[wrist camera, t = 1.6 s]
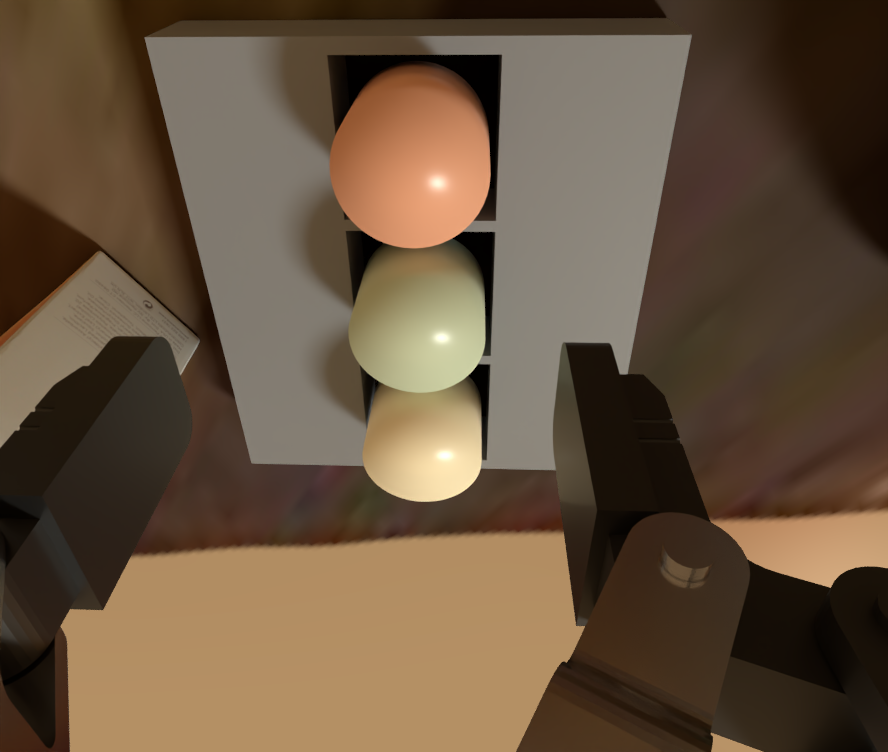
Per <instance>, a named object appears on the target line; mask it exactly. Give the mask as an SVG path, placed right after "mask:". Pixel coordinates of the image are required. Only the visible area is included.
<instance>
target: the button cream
mask: <svg viewBox="0 0 888 752" xmlns="http://www.w3.org/2000/svg"><path fill="white" fill-rule="evenodd" d="M362 456H363V464H364V467H365V469H366V471H367V473H368V475H369V476H370V478H371V479H372V480H373V481H374V482H375V483H376V484H377V485H378V486H379V487H381V488H382V489H383V490H385V491H387V492H388V493H390V494H393V495H395V496H397V497H400V498H403V499H407V500H413V501H422V502H428V501H439V500H443V499H447V498H450V497H453V496H455V495H457V494H459V493H461V492H463V491H464V490H466V489H467V488H468V487H469V486H470V485H471V484H472V483H473V482H474V481H475V479H476V478H477V476H478V474H479V472H480V469H481V462H482V444H481V397H480V393H479V390H478V388H477V386H476V384H475V383H474V381H473V380H472V379H471V378H470V377H469V376H467V377H466V378H465V379H463V380H462V381H460V382H459V383H457V384H455V385H453V386H451V387H449V388H446V389H443V390H439V391H435V392H427V393H415V392H406V391H401V390H398V389H394V388H392V387H389V386H387V385H385V384H383V383H381V382H379V383H378V385H377V387H376V390H375V393H374V398H373V403H372V408H371V413H370V417H369V422H368V427H367V432H366V437H365V442H364V447H363V453H362Z"/></svg>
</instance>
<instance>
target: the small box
mask: <svg viewBox="0 0 888 752" xmlns="http://www.w3.org/2000/svg"><path fill="white" fill-rule="evenodd" d="M116 336H152V337H164V338H165V339H166V340H167V341H168V342H169V344H170V346H171V348H172V351H173V354H174V357H175V360H176V364H177V367H178V370H179V373H180V375H181V373H182V372H183V370H184V368H185V366H186V364H187V363H188V361H189V360H190V358H191V356H192V355H193V353H194V351H195V350H196V348H197V346H198V344H199V342H200V339H199V338H198V337H197V336H196V335H195V334H194V333H193V332H191V331H190V330H189V329H188V328H187V327H186V326H185V325H184V324H182V323H181V322H180V321H179V320H178V319H177V318H176V317H175V316H174V315H172V314H171V313H170V312H169V311H168V310H167V309H166V308H165V307H164V306H163V305H161V304H160V303H159V302H158V301H157V300H156V299H155V298H153V297H152V296H151V295H150V294H149V293H148V292H147V291H146V290H145V289H143V288H142V287H141V286H140V285H139V284H138V283H137V282H136V281H135V280H133V279H132V278H131V277H130V276H129V275H128V274H127V273H126V272H124V271H123V270H122V269H121V268H120V267H119V266H118V265H117V264H115V263H114V262H113V261H112V260H111V259H110V258H109V257H108V256H107V255H105V254H104V253H103V252H102V251H98V252H96V253H95V254H94V255H93V256H92V257H91V258H90V259H89V260H88V261H86V262H85V263H84V264H83V265H82V266H81V267H80V268H79V269H78V270H77V271H76V272H75V273H73V274H72V275H71V276H70V277H69V278H68V279H67V280H66V281H64V282H63V283H62V284H61V285H60V286H59V287H58V288H57V289H55V290H54V291H53V292H52V293H51V294H50V295H49V296H48V297H46V298H45V299H44V300H43V301H42V302H40V303H39V304H38V305H37V306H36V307H35V308H33V309H32V310H31V311H30V312H29V313H27V314H26V315H25V316H24V317H23V318H22V319H20V320H19V321H18V322H17V323H16V324H15V325H13V326H12V327H11V328H10V329H9V330H8V331H6V332H5V333H4V334H3V335H2V336H1V337H0V448H1V447H2V445H3V444H4V443H5V442H6V441H7V439H8V438H9V437H10V436H11V435H12V434H13V432H14V431H15V430H19V429H20V427H19V425H20V424H21V423H22V422H23V421H24V419H25V418H26V417H27V416H28V415H29V414H30V412H35V406H36V405H37V404H38V403H39V402H40V401H41V399H42V398H43V397H44V396H45V395H46V393H47V392H48V391H49V390H50V389H51V388H52V386H53V385H54V384H56V383H57V382H59V381H60V380H62V379H63V378H65V377H66V376H68V375H69V374H71V373H73V372H74V371H76V370H77V369H79V368H80V367H82V366H89V365H90V364H91V363H92V361H93V360H94V359H95V358H96V356H97V355H98V354H99V353H100V351H101V350H102V349H103V348H104V346H105V345H106V344H107V343H108V342H109V340H110V339H112V338H113V337H116Z"/></svg>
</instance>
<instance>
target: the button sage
mask: <svg viewBox="0 0 888 752" xmlns="http://www.w3.org/2000/svg"><path fill="white" fill-rule="evenodd" d="M348 333H349V342H350V346H351V349H352V352H353V354H354V356H355V358H356V360H357V361H358V363H359V364H360V365H361V367H362V368H363V369H364V370H365V371H366V372H367V373H368V374H369V375H371V376H372V377H373V378H375V379H376V380H378V381H379V382H381V383H383V384H385V385H387V386H389V387H392V388H394V389H398V390H401V391H406V392H415V393H427V392H435V391H439V390H443V389H446V388H449V387H451V386H453V385H455V384H457V383H459V382H460V381H462V380H463V379H465V378H466V377H467V376H468V375H469V374H470V373H471V372H472V371H473V370H474V369H475V368H476V366H477V364H478V363H479V361H480V359H481V357H482V355H483V351H484V347H485V285H484V277H483V273H482V270H481V267H480V265H479V263H478V262H477V260H476V259H475V257H474V256H473V254H472V253H471V252H470V251H469V250H468V249H467V248H466V247H465V246H463V245H462V244H461V243H459V242H458V241H456V240H454V239H450V240H448V241H446V242H444V243H441V244H438V245H435V246H431V247H425V248H402V247H397V246H392V245H389V244H386V243H383V244H382V245H381V246H380V247H378V248H377V249H376V251H375V252H374V253H373V254H372V256H371V257H370V259H369V261H368V263H367V265H366V268H365V271H364V274H363V278H362V281H361V285H360V288H359V291H358V295H357V298H356V302H355V305H354V308H353V312H352V315H351V319H350V322H349V329H348Z"/></svg>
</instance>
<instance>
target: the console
mask: <svg viewBox="0 0 888 752" xmlns="http://www.w3.org/2000/svg"><path fill="white" fill-rule="evenodd" d="M691 36H692V35H691V34H690V33H688V32H687V31H685V30H684V29H683V28H681V27H680V26H678V25H677V24H676V23H674V22H673V21H671V20H670V19H668V18H577V19H386V20H195V21H179V22H177V23H174V24H172V25H170V26H168V27H166V28H163V29H161V30H159V31H157V32H155V33H153V34H150V35H148V36H146V37H144V38H145V42H146V46H147V50H148V54H149V58H150V62H151V66H152V70H153V74H154V77H155V81H156V85H157V89H158V93H159V97H160V101H161V105H162V109H163V113H164V117H165V121H166V125H167V129H168V133H169V137H170V141H171V145H172V149H173V153H174V157H175V161H176V165H177V169H178V173H179V177H180V181H181V185H182V189H183V193H184V197H185V201H186V205H187V209H188V213H189V217H190V221H191V224H192V228H193V232H194V236H195V240H196V244H197V248H198V252H199V256H200V260H201V264H202V268H203V272H204V276H205V280H206V284H207V288H208V292H209V296H210V300H211V304H212V308H213V312H214V316H215V320H216V324H217V328H218V332H219V336H220V340H221V344H222V348H223V352H224V356H225V360H226V364H227V368H228V372H229V375H230V379H231V383H232V387H233V391H234V395H235V399H236V403H237V407H238V411H239V415H240V419H241V423H242V427H243V431H244V435H245V439H246V443H247V447H248V451H249V455H250V459H251V463H256V464H302V465H348V466H364V464H363V456H362V453H363V447H364V442H365V437H366V432H367V427H368V422H369V417H370V413H371V408H372V403H373V398H374V393H375V390H376V389H375V378H373V377H372V376H371V375H369V374H368V373H367V372H366V371H365V370H364V369H363V368H362V367H361V365H360V364H359V363H358V361H357V360H356V358H355V356H354V354H353V352H352V349H351V346H350V342H349V333H348V329H349V322H350V319H351V315H352V312H353V308H354V305H355V302H356V298H357V295H358V291H359V288H360V285H361V281H362V278H363V274H364V271H365V268H364V257H363V246H362V235H361V231H362V230H361V229H360V228H358V227H357V226H356V225H355V224H354V223H353V222H352V221H351V220H350V218H349V217H348V216H347V215H346V213H345V212H344V210H343V209H342V207H341V206H340V204H339V202H338V200H337V198H336V195H335V193H334V190H333V187H332V183H331V177H330V165H329V163H330V152H331V148H332V144H333V141H334V138H335V135H336V133H337V131H338V129H339V127H340V126H341V124H342V122H343V120H344V118H345V117H346V115H347V113H348V111H349V110H350V103H349V92H348V81H347V70H346V59H345V55H499V67H498V96H497V124H496V153H495V181H494V189H489V190H488V194H487V197H486V200H485V202H484V205H483V207H482V208H481V210H480V212H479V214H478V215H477V216H476V218H475V219H474V221H473V222H472V223H471V224H470V225H469V226H468V227H467V228H466V229H465V230H463V231H462V232H493V238H492V267H491V295H490V316H485V347H484V351H483V355H482V357H481V359H480V361H479V363H478V364H488V380H487V409H486V417H481V444H482V462H481V468H485V469H530V470H556V468H555V460H554V452H553V417H554V407H555V398H556V389H557V380H558V371H559V361H560V353H561V347H562V344H563V342H577V343H610V344H611V346H612V349H613V352H614V356H615V359H616V363H617V366H618V370H619V373H620V374H627V373H628V368H629V362H630V357H631V352H632V347H633V341H634V336H635V331H636V325H637V320H638V315H639V310H640V304H641V299H642V294H643V289H644V283H645V278H646V273H647V268H648V262H649V257H650V252H651V246H652V241H653V236H654V231H655V225H656V220H657V215H658V210H659V204H660V199H661V194H662V189H663V183H664V178H665V173H666V167H667V162H668V157H669V152H670V146H671V141H672V136H673V131H674V125H675V120H676V115H677V110H678V104H679V99H680V94H681V89H682V83H683V78H684V73H685V67H686V62H687V57H688V52H689V46H690V41H691Z"/></svg>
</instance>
